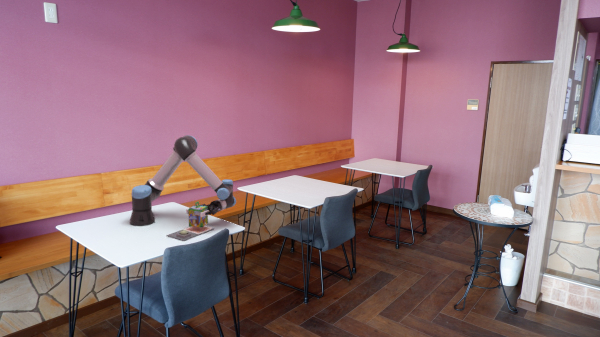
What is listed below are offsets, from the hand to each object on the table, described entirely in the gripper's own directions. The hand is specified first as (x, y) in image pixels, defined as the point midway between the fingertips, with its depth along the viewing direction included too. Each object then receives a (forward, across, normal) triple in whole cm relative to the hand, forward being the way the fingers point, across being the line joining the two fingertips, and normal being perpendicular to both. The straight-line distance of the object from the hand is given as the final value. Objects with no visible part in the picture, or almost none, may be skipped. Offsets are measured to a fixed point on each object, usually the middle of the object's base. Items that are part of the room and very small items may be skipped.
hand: (193, 213), depth 240 cm
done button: (+10, -2, -10) cm, 14 cm away
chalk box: (-4, 0, -9) cm, 10 cm away
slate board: (+2, 0, -12) cm, 12 cm away
